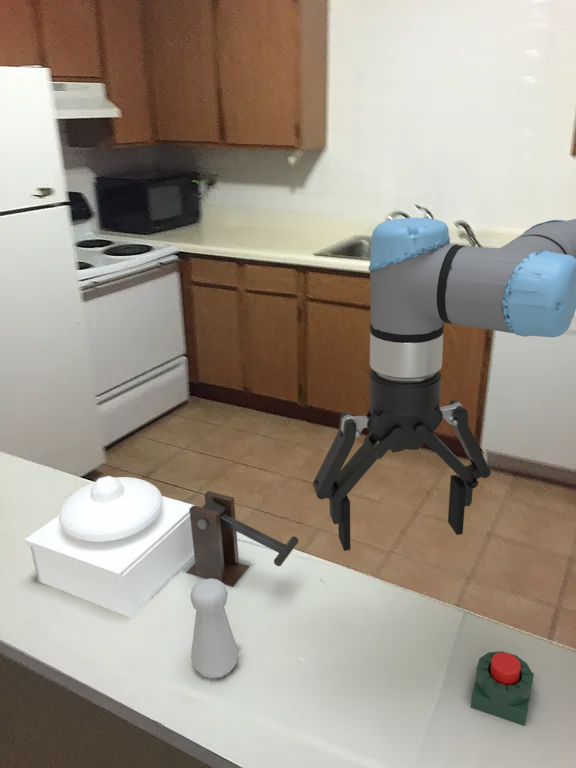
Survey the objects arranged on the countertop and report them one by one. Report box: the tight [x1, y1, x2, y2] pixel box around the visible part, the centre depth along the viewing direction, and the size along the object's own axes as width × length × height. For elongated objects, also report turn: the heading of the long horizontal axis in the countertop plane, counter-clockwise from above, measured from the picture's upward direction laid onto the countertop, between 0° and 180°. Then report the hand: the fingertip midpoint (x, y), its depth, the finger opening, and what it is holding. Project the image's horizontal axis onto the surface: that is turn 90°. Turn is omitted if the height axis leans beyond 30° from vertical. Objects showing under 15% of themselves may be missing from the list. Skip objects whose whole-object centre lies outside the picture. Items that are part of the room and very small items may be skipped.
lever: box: [201, 500, 299, 567], centre depth 94 cm, size 14×6×2 cm, turn 65°
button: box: [490, 651, 521, 685], centre depth 77 cm, size 3×3×2 cm
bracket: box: [186, 490, 250, 588], centre depth 97 cm, size 8×6×13 cm
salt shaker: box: [190, 578, 239, 679], centre depth 81 cm, size 6×6×13 cm
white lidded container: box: [24, 475, 196, 618], centre depth 99 cm, size 18×18×16 cm
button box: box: [470, 650, 535, 727], centre depth 78 cm, size 6×6×4 cm
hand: (400, 535), depth 79 cm, fingers open, 13 cm apart
